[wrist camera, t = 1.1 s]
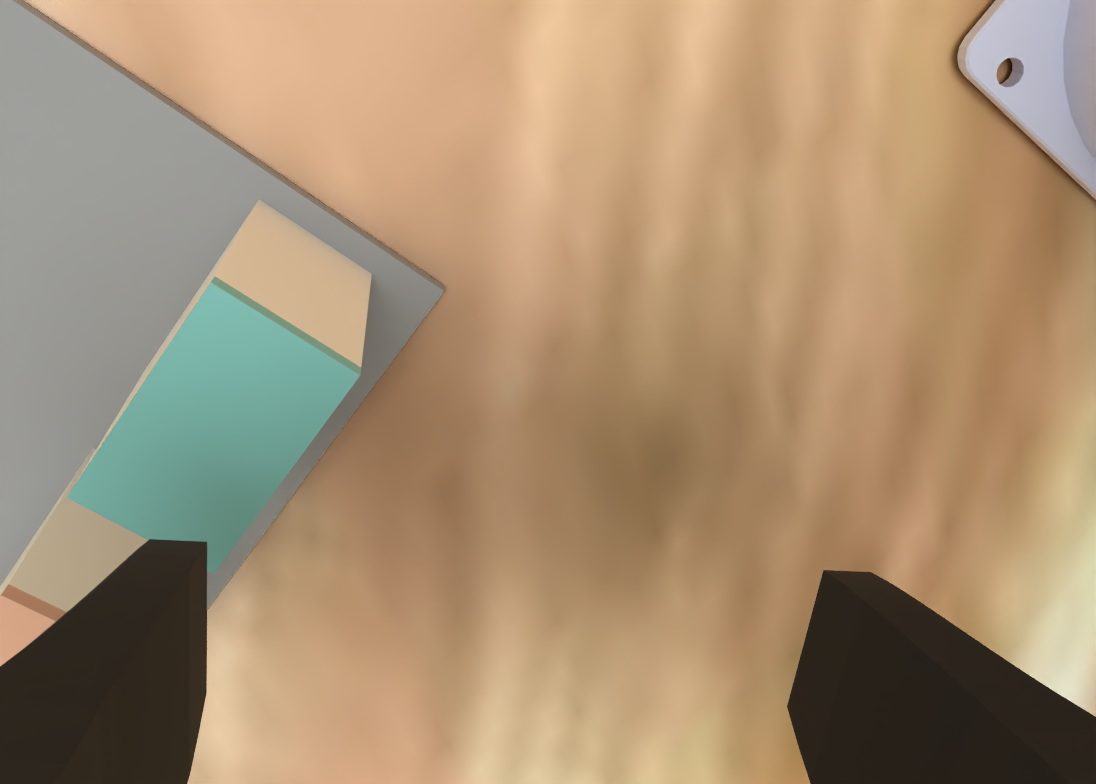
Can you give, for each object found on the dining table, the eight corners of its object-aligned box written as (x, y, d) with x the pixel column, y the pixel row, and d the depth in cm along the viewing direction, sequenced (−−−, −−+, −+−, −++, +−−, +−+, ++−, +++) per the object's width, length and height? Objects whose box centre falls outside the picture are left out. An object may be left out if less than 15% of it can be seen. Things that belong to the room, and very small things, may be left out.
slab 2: (371, 273, 20) (359, 375, 15) (257, 433, 21) (213, 574, 16) (259, 199, 19) (211, 282, 14) (145, 368, 20) (66, 497, 15)
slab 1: (203, 507, 21) (146, 664, 17) (104, 646, 22) (25, 830, 18) (92, 447, 20) (1, 595, 16) (-6, 594, 21) (-118, 772, 17)
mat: (443, 284, 20) (444, 291, 20) (152, 677, 23) (148, 689, 23) (-188, -143, 16) (-202, -145, 16) (-450, 392, 19) (-467, 401, 19)
